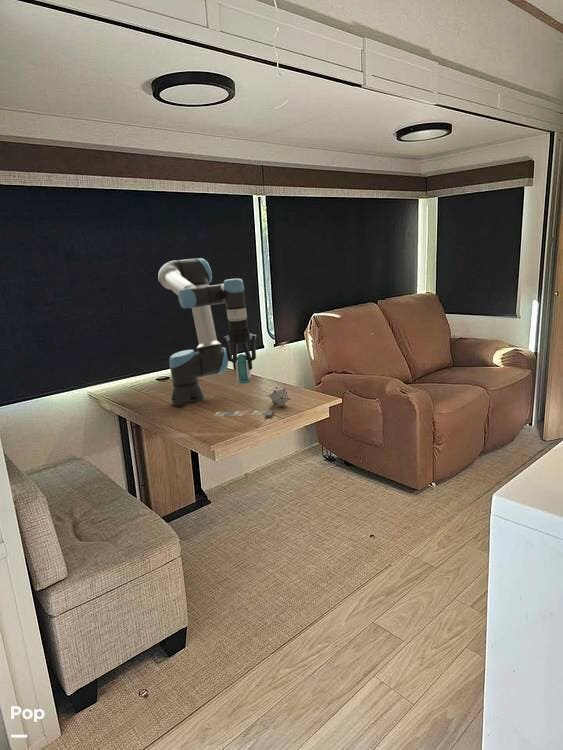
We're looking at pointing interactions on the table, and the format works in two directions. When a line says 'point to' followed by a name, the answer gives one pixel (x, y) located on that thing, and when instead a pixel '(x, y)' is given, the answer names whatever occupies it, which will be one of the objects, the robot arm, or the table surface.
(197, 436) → the table surface
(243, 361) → the pawn
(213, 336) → the robot arm
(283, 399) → the game die
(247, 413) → the board
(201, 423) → the table surface
